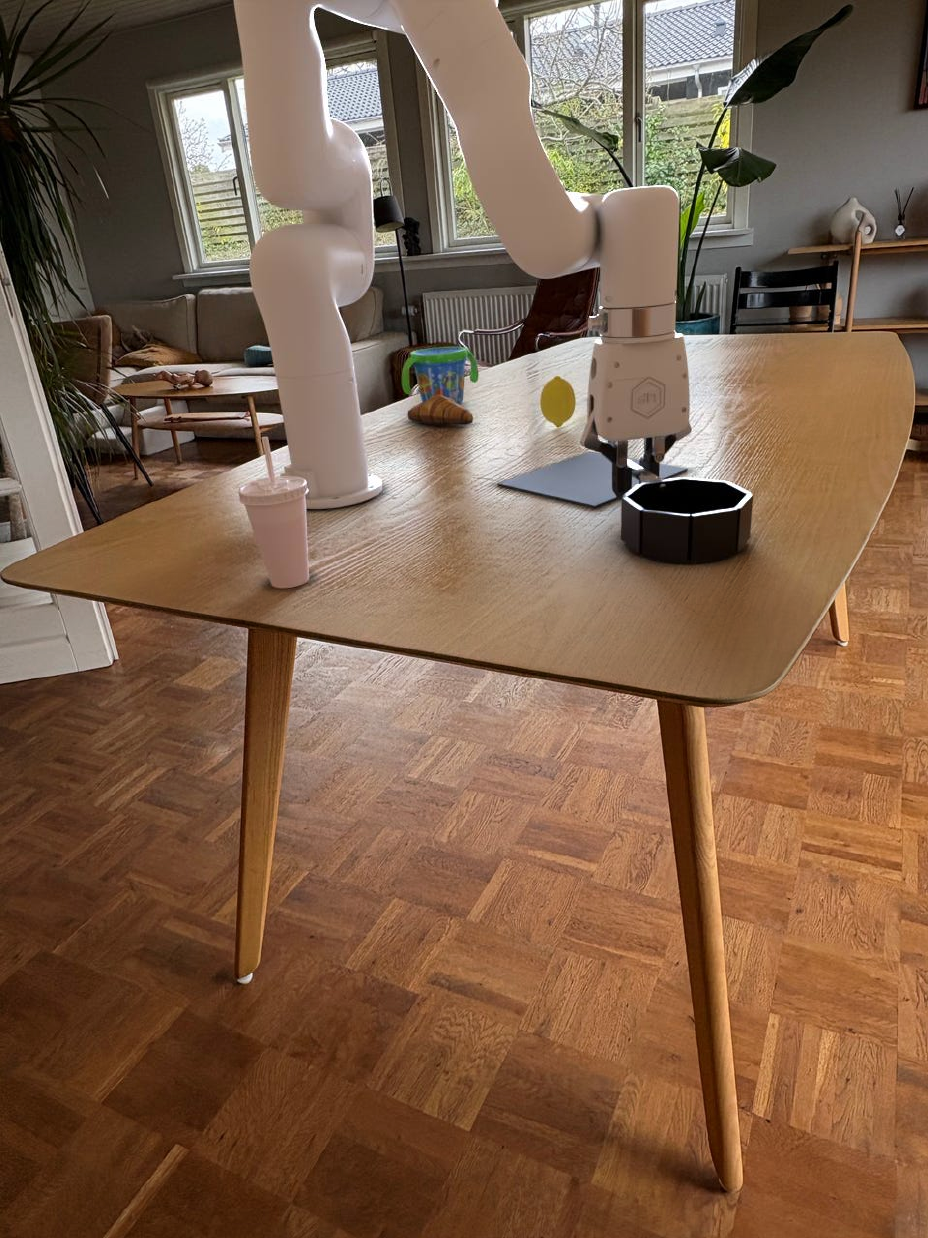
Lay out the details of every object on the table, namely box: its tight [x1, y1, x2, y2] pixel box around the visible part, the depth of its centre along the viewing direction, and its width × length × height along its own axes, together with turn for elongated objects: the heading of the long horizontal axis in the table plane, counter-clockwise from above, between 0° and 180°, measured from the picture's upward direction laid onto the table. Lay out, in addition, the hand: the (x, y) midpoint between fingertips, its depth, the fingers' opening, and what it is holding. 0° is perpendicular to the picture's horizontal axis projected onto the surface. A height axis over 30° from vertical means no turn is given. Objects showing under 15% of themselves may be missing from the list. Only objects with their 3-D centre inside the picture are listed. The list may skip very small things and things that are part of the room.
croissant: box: [407, 394, 474, 426], centre depth 138 cm, size 14×7×5 cm, turn 54°
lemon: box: [539, 375, 577, 428], centre depth 128 cm, size 6×6×8 cm
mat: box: [497, 451, 688, 509], centre depth 102 cm, size 18×16×1 cm
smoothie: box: [237, 436, 310, 589], centre depth 76 cm, size 6×6×14 cm
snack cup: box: [401, 346, 480, 406], centre depth 150 cm, size 16×10×10 cm
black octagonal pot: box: [620, 458, 754, 565], centre depth 84 cm, size 22×12×5 cm, turn 13°
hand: (635, 495), depth 90 cm, fingers closed
